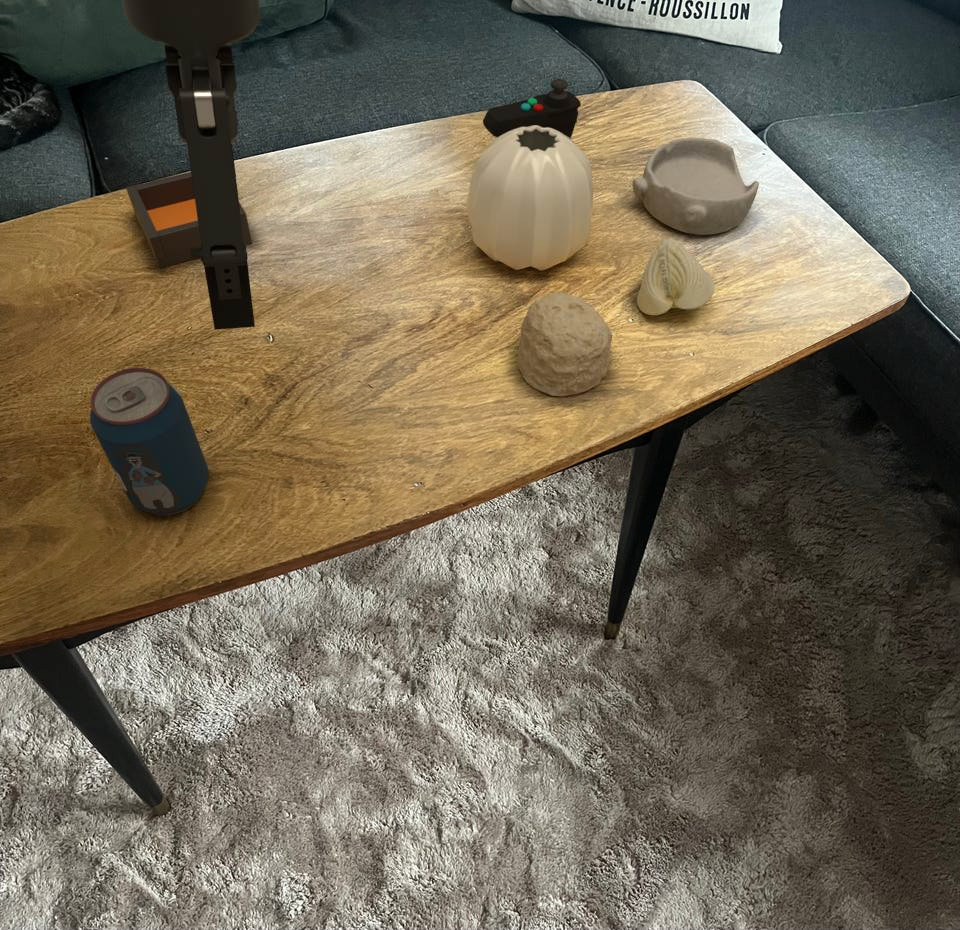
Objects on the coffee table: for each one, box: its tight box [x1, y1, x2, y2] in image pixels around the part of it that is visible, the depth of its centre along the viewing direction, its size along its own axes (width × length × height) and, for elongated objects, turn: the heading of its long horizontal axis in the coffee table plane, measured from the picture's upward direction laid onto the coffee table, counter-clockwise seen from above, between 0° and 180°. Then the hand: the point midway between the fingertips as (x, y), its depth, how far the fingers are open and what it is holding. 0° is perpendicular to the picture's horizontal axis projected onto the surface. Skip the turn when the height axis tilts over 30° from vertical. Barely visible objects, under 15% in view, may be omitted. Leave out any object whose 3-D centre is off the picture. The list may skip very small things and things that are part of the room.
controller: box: [482, 78, 582, 140], centre depth 102 cm, size 4×12×10 cm, turn 116°
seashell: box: [636, 237, 715, 316], centre depth 88 cm, size 8×8×8 cm
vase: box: [466, 125, 594, 271], centre depth 90 cm, size 14×14×13 cm
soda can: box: [89, 367, 210, 516], centre depth 67 cm, size 7×7×12 cm
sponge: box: [517, 291, 613, 397], centre depth 81 cm, size 9×10×10 cm
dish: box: [632, 137, 760, 236], centre depth 99 cm, size 14×14×5 cm
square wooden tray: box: [125, 171, 253, 269], centre depth 94 cm, size 10×10×4 cm
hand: (228, 264), depth 62 cm, fingers open, 13 cm apart
